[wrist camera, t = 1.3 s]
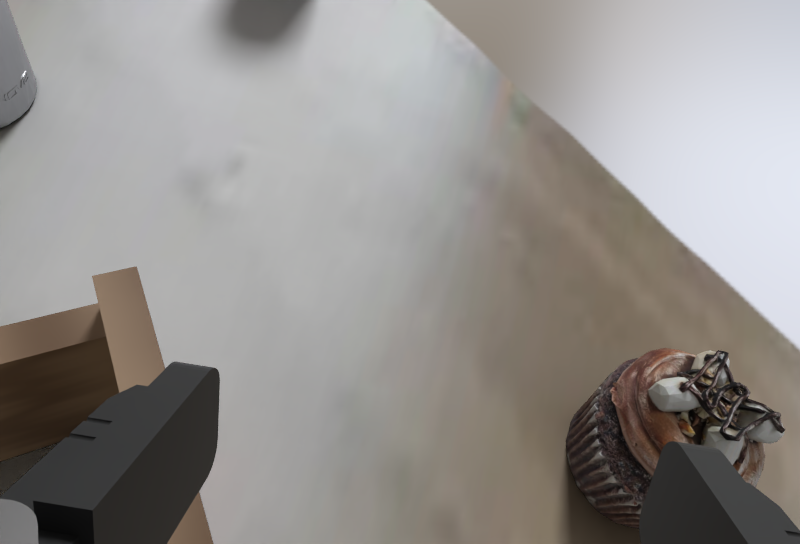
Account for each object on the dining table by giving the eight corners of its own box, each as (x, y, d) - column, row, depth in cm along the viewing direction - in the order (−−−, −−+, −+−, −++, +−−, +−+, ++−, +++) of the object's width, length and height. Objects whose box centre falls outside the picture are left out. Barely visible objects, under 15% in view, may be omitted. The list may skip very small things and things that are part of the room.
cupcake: (523, 450, 33) (617, 396, 25) (604, 361, 38) (704, 292, 30) (643, 582, 31) (789, 571, 23) (713, 469, 36) (853, 427, 28)
